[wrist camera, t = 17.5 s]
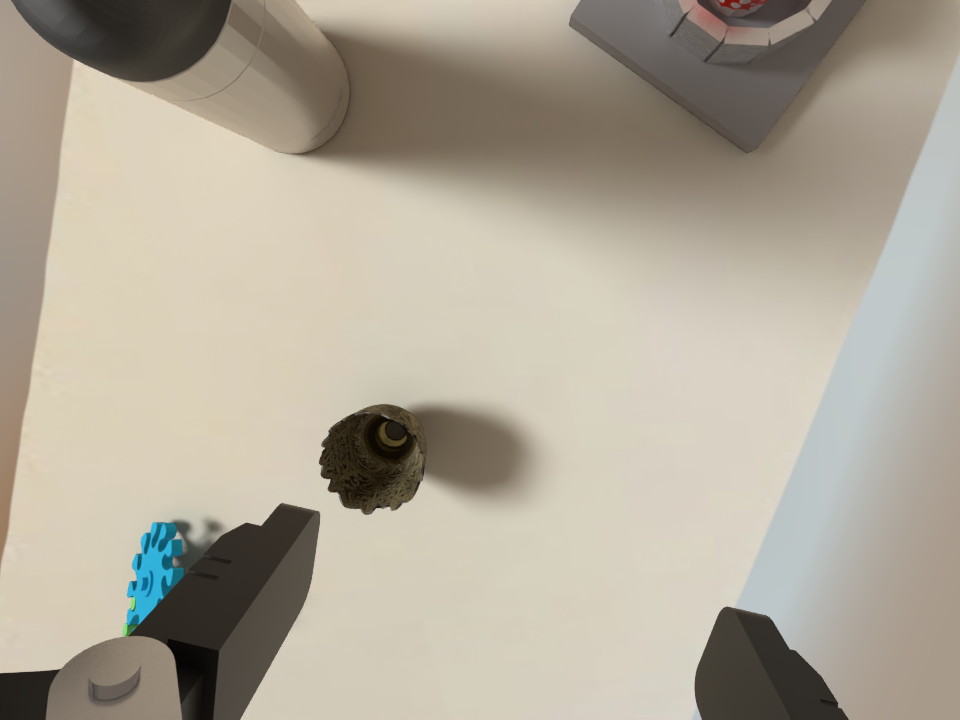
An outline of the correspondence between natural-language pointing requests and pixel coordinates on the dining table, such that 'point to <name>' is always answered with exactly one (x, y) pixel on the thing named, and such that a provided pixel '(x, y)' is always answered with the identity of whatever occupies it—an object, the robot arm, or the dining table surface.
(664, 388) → the dining table surface
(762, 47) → the collar
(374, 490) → the cup
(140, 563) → the blue toy figure
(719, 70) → the flange board
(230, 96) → the robot arm
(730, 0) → the beverage cup
